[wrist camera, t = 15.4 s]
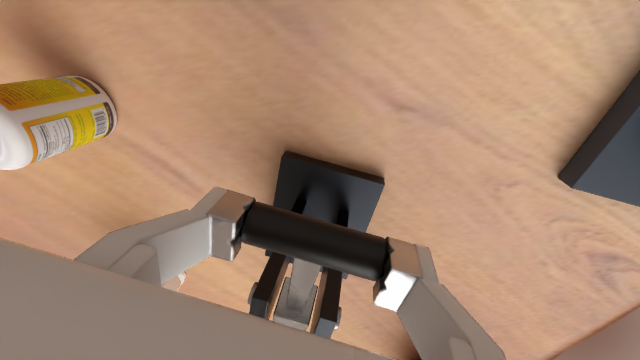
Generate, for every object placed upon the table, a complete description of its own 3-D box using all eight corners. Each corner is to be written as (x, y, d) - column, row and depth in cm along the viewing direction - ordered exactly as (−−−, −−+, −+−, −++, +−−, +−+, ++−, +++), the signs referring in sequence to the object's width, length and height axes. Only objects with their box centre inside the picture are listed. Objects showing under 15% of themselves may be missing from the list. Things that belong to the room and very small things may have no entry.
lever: (260, 184, 10) (232, 241, 8) (390, 221, 10) (384, 286, 8) (265, 283, 19) (252, 318, 18) (331, 302, 19) (324, 339, 18)
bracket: (285, 150, 23) (220, 237, 13) (384, 177, 23) (396, 289, 13) (268, 247, 29) (214, 360, 19) (347, 270, 29) (335, 398, 19)
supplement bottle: (51, 84, 24) (-135, 111, 15) (95, 66, 23) (-83, 83, 14) (90, 141, 26) (-52, 193, 18) (132, 128, 25) (0, 178, 16)
